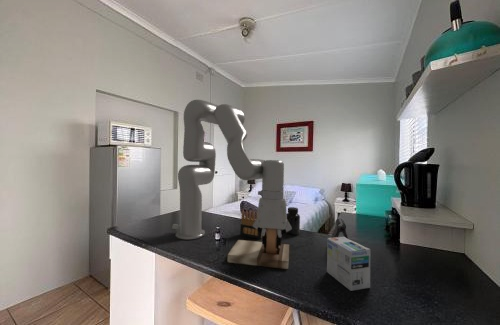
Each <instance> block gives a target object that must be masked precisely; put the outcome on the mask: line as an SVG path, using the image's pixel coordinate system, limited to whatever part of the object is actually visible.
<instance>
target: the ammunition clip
mask: <svg viewBox="0 0 500 325" xmlns="http://www.w3.org/2000/svg"><path fill="white" fill-rule="evenodd" d="M257 214H258V210H256V212H255V210H254V209H253V210H251V209H249V212H248V209H246V210H244V208H242V210H241V217H240V218H241V220H240V232H239V235H240V236H244V237H248V238H252V239H256V240H262V235H261V233H260V232H259V231H258V230H257V229H256V228H254V227H253V224H254V222H255V221H256V219H257Z"/></svg>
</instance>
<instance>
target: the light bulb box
mask: <svg viewBox="0 0 500 325" xmlns="http://www.w3.org/2000/svg"><path fill="white" fill-rule="evenodd" d="M326 240H327V242H326V243H327V244H326V245H327V246H326V247H327V249H326V254H327V256H326V273H327V274H329V275H330V276H331V277H333V278H334V279H335V280H336V281H338V282H339V283H340V284H341V285H343V286H344V287H345V288H346V289H348V290H349V291H350V292H351V291H352V292H353V291H359V290H364V289H370V288H371V248H368V247H367V246H364V245H362V244H360V243H358V242H356V241H353V240H351V239H349V238H348V239H347V238H346V237H344V236H338V237H336V238H331V237H327V239H326Z"/></svg>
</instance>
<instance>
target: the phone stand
mask: <svg viewBox="0 0 500 325" xmlns="http://www.w3.org/2000/svg"><path fill="white" fill-rule="evenodd" d="M340 220H341V221H340ZM341 223H342V224H341ZM340 224H341V225H340ZM346 226H347V225H346V223H345V221H344V220H343V218H340V219H339V218H337V219H336V220H335V228H333V232H332V234H331V236H330V238H336V237H340V236H339V235H340V233H342V235H343V236H342V237H346V238H347V239H349V237H348V234H347V231H346V229H347V227H346Z"/></svg>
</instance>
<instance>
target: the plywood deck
mask: <svg viewBox="0 0 500 325" xmlns="http://www.w3.org/2000/svg"><path fill="white" fill-rule="evenodd" d="M289 259H290V244H288V243H287V244H286V243H284V244H283V243H281V246H279V249H277V254H268V253H266V247H265V248H264V244H262V241H255V240H244V239H238V240H237V241H236V242H235V244H233V246H232V247H231V249H230V251H229V252H228V253H227V263H233V264H240V265H249V266H258V267H266V268H274V269H275V268H276V269H284V270H288V269H289Z"/></svg>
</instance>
